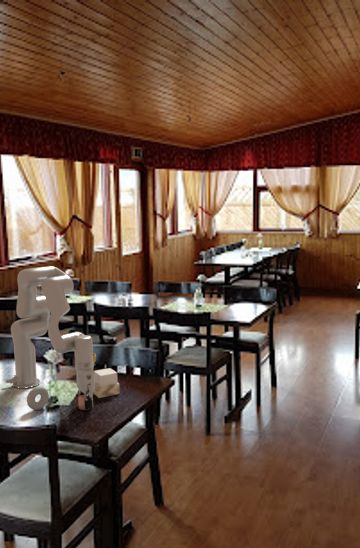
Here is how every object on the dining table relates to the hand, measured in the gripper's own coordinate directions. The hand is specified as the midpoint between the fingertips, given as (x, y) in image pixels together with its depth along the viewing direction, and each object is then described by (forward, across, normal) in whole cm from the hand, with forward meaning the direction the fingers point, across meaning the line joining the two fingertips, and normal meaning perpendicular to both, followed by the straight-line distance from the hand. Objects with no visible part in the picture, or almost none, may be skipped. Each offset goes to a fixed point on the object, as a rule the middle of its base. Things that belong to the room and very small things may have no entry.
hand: (85, 405), depth 233 cm
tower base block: (+1, +12, -14) cm, 18 cm away
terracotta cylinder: (+1, 0, 0) cm, 1 cm away
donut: (+1, +8, +18) cm, 20 cm away
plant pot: (+1, +42, -16) cm, 45 cm away
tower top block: (-4, +12, -14) cm, 19 cm away
